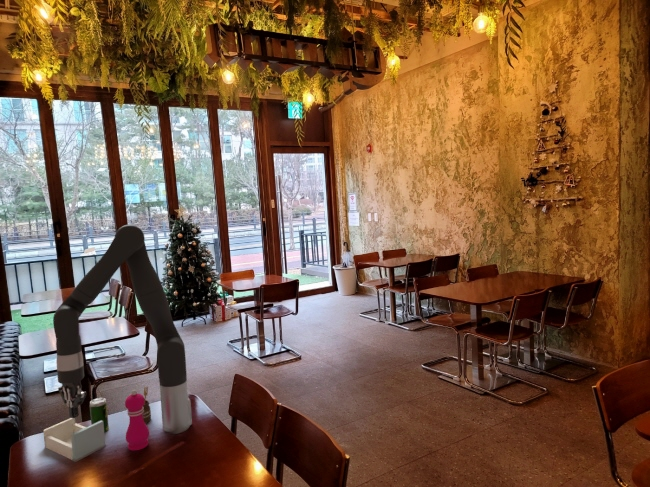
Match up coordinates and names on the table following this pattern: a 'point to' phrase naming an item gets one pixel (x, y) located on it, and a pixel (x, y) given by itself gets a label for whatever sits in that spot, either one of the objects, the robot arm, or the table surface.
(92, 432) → the panel
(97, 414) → the beer can
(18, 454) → the table surface
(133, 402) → the pepper mill
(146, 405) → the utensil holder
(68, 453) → the tray
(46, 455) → the table surface
